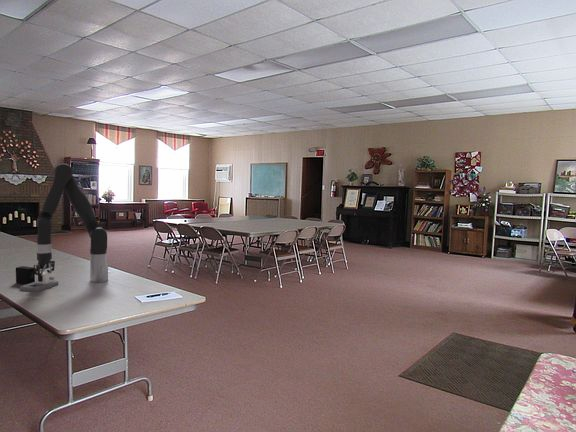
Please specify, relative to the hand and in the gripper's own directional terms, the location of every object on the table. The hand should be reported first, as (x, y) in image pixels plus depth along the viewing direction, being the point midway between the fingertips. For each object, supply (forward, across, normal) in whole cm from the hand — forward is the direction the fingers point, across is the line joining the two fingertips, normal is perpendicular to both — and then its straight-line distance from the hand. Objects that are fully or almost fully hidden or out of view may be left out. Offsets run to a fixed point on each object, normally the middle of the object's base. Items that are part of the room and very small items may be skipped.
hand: (44, 280), depth 237 cm
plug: (+3, 0, 0) cm, 3 cm away
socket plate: (+4, -4, 0) cm, 5 cm away
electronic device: (+4, +1, +14) cm, 14 cm away
